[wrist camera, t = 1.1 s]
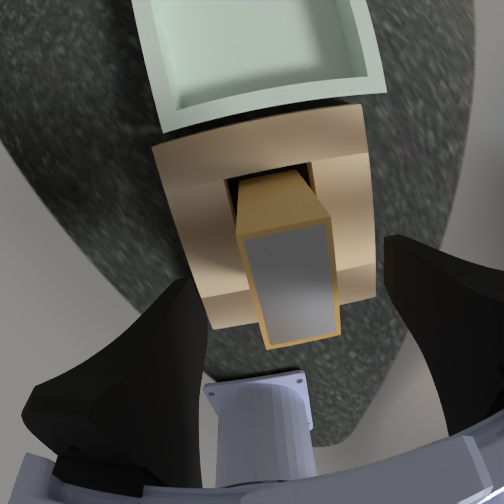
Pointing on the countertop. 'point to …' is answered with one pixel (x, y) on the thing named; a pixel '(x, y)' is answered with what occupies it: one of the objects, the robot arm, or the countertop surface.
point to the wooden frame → (260, 159)
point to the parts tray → (253, 54)
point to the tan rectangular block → (288, 259)
